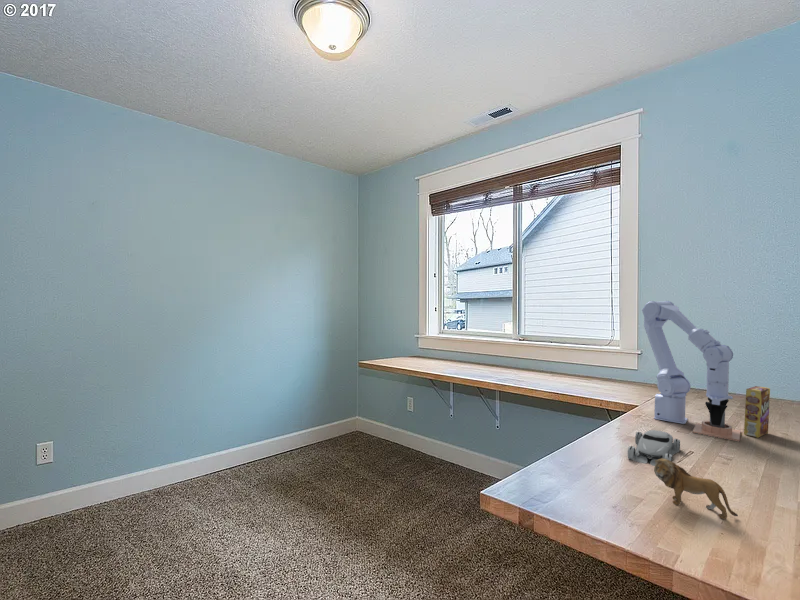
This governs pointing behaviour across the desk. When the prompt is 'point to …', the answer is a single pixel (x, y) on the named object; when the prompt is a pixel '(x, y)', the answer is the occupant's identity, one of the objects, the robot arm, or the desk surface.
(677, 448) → the car model
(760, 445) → the desk surface
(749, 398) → the candy box
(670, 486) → the lion figurine
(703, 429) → the tube holder
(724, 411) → the tube
